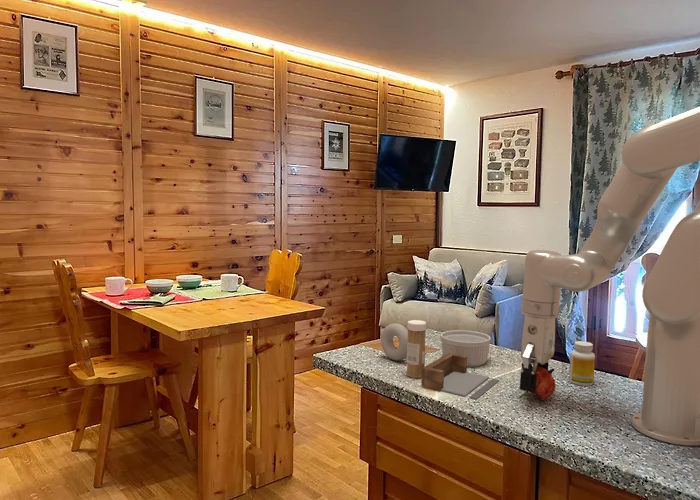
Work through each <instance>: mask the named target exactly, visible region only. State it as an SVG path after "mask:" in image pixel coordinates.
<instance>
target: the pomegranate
mask: <svg viewBox="0 0 700 500" xmlns="http://www.w3.org/2000/svg"><path fill="white" fill-rule="evenodd" d="M532 368H533V366H532ZM554 372H555V369H554V368H551V369H548V370H546V369H545V368H542V367H537V369H536V373H535V374H537V381H536V391H535V392H534V393H532V392H528V391H525V392H524V393H523V394H522V395H520V396H519V397H518V398H519V399H522V398H523V397H524V396H526V395H527V394H528V393H530V394H531V395H532V396H535V397H537V398H538V399H539V400H541V401H544V400H547V399H549V398H551V397H552V396H553V394H554V393H555V390H556V385H557V384H556V380H555V378H554V377H553V375H552V373H554Z"/></svg>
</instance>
